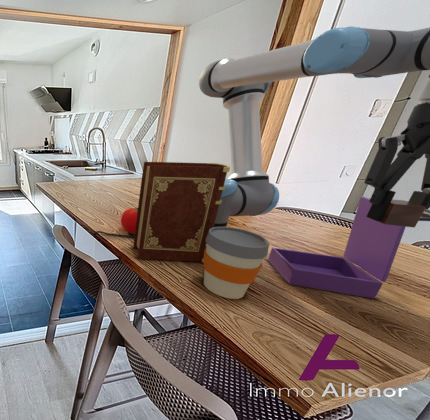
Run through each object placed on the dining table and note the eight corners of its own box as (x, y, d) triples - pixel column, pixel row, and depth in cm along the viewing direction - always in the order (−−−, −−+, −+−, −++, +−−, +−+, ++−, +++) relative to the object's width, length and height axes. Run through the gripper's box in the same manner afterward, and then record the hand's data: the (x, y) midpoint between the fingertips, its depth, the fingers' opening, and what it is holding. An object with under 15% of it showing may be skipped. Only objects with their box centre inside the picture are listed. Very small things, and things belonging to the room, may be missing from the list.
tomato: (150, 240, 91) (154, 214, 87) (118, 236, 94) (121, 211, 91) (148, 228, 102) (152, 205, 98) (120, 224, 105) (123, 202, 101)
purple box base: (288, 283, 66) (294, 269, 65) (267, 260, 78) (272, 247, 76) (374, 298, 61) (383, 283, 59) (338, 271, 72) (344, 257, 71)
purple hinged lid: (406, 211, 54) (470, 212, 51) (360, 196, 66) (410, 196, 62) (381, 281, 59) (438, 286, 56) (343, 256, 71) (387, 259, 68)
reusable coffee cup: (235, 310, 56) (253, 253, 51) (186, 281, 67) (196, 231, 62) (263, 294, 62) (281, 241, 57) (213, 269, 72) (225, 223, 67)
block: (384, 224, 51) (394, 203, 49) (367, 217, 55) (376, 198, 53) (415, 227, 49) (426, 206, 48) (395, 220, 53) (405, 200, 52)
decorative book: (199, 250, 83) (219, 163, 74) (211, 263, 76) (235, 167, 66) (132, 247, 85) (143, 161, 76) (137, 259, 78) (150, 165, 68)
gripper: (402, 101, 44) (348, 221, 51) (560, 99, 38) (471, 234, 46) (369, 104, 50) (325, 210, 58) (499, 102, 44) (430, 220, 52)
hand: (389, 220), depth 52 cm, fingers closed on block, 4 cm apart
